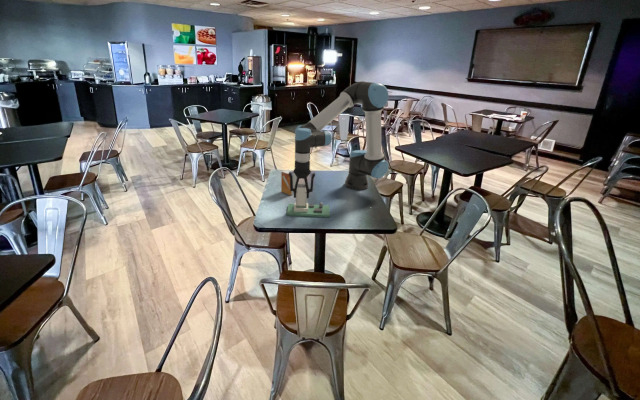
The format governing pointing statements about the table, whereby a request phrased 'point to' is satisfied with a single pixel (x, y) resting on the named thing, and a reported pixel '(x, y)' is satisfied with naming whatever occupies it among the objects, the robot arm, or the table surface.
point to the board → (308, 210)
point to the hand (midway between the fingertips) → (301, 203)
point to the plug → (301, 194)
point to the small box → (287, 182)
